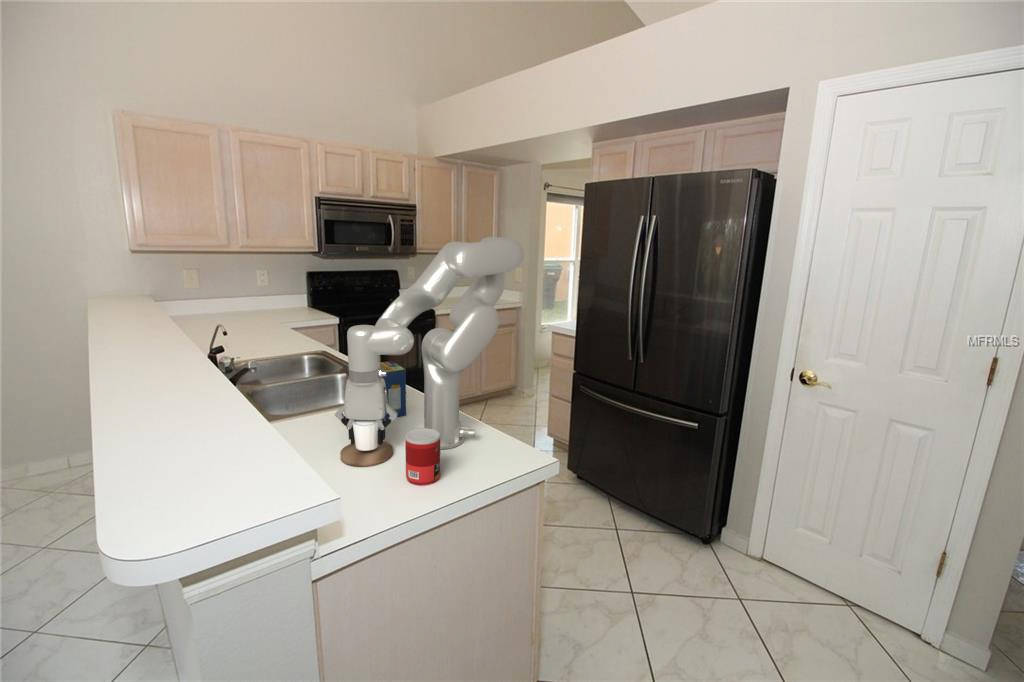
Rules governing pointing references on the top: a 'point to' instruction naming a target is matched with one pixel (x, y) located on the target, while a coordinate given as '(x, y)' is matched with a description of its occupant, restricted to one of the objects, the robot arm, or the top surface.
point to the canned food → (422, 456)
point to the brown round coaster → (366, 455)
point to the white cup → (366, 434)
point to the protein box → (393, 386)
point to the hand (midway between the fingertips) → (367, 441)
